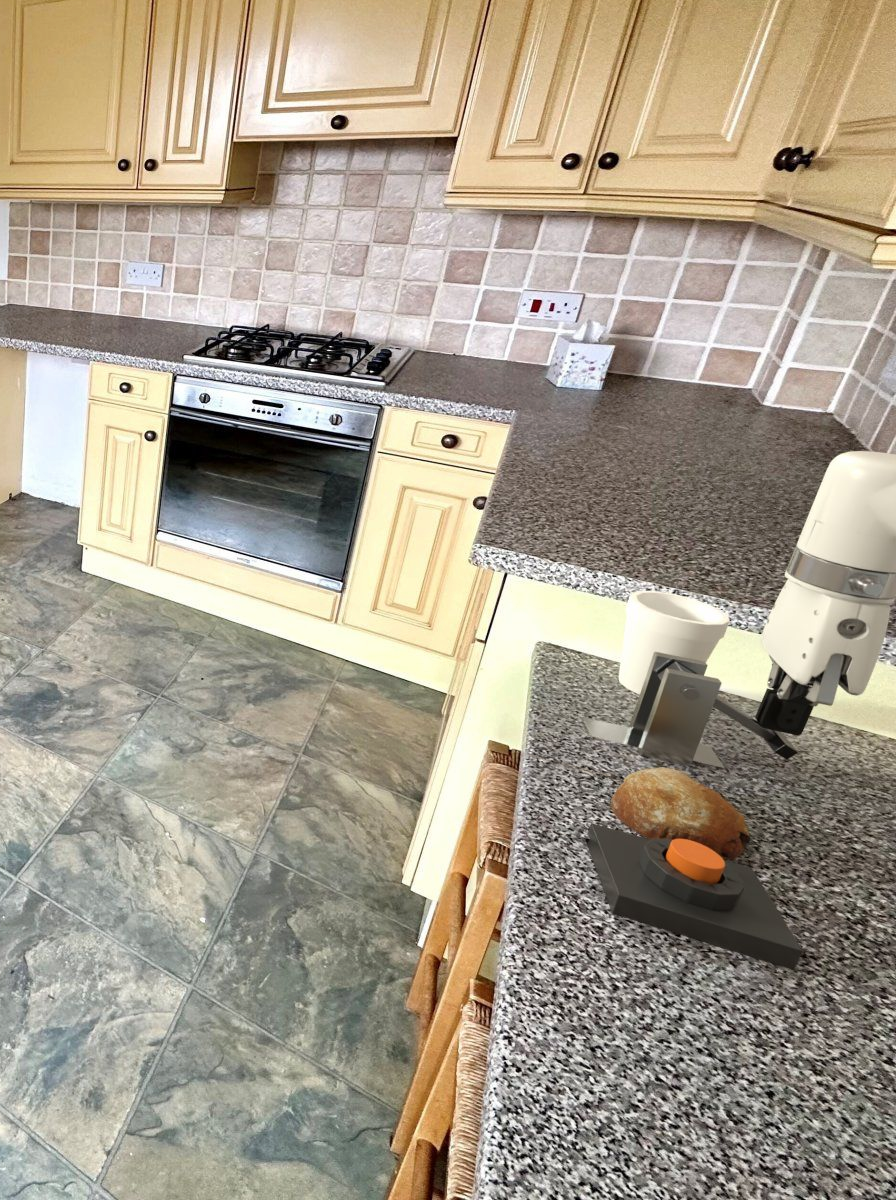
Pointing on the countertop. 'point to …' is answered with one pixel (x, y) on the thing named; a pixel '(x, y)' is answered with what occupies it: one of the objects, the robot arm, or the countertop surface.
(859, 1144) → the countertop surface
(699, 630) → the foam cup
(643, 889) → the control block
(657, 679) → the metal lever bracket
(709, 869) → the button
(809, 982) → the countertop surface
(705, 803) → the bread roll
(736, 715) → the lever
